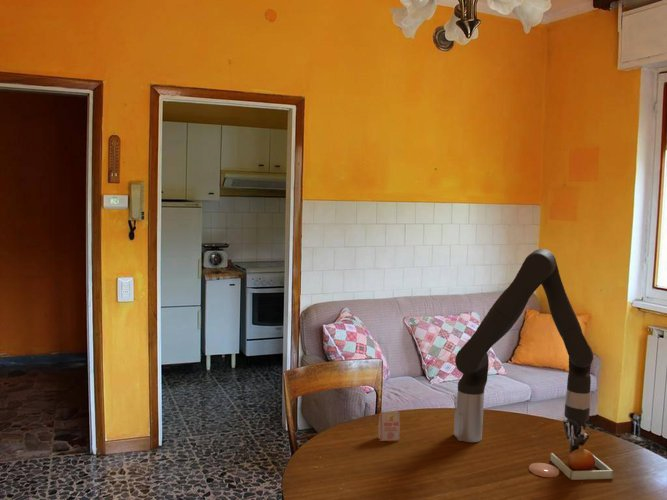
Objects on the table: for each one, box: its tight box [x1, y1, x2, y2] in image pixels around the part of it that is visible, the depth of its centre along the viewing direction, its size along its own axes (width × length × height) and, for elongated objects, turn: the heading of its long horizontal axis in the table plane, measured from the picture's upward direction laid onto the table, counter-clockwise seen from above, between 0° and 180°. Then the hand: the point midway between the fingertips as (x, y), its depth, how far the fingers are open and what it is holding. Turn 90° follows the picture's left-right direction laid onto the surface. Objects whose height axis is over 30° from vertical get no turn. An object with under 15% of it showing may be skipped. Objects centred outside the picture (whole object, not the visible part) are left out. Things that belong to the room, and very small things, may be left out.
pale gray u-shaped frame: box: [550, 452, 614, 481], centre depth 197 cm, size 14×14×2 cm
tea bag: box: [377, 410, 401, 442], centre depth 216 cm, size 4×7×10 cm, turn 98°
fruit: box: [567, 448, 596, 471], centre depth 195 cm, size 8×8×8 cm
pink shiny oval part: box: [528, 462, 560, 478], centre depth 195 cm, size 9×9×1 cm
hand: (573, 455), depth 201 cm, fingers closed
